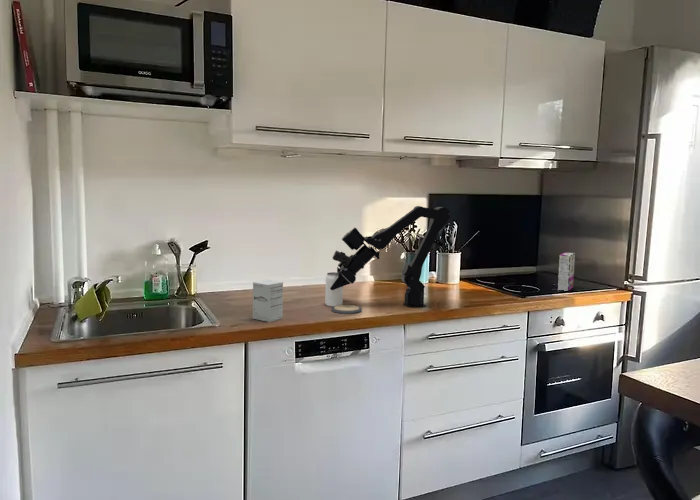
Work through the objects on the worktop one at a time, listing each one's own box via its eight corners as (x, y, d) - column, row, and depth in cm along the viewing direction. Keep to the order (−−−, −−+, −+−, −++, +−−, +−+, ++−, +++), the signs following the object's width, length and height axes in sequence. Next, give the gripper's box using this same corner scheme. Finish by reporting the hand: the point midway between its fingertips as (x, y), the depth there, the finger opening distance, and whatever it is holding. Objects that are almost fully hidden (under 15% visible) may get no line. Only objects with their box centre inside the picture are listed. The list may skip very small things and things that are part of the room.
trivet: (354, 306, 213) (354, 303, 213) (366, 312, 203) (366, 309, 203) (327, 308, 209) (327, 305, 209) (338, 315, 199) (338, 311, 198)
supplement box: (251, 319, 190) (251, 281, 189) (266, 315, 196) (267, 279, 195) (268, 322, 186) (268, 284, 185) (283, 318, 192) (283, 281, 191)
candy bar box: (561, 287, 261) (564, 252, 259) (573, 288, 258) (575, 253, 256) (556, 291, 252) (558, 254, 250) (568, 292, 249) (570, 255, 247)
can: (333, 302, 219) (333, 271, 218) (346, 305, 215) (346, 273, 214) (321, 305, 214) (322, 273, 213) (334, 307, 210) (335, 275, 209)
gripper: (344, 240, 221) (315, 268, 222) (347, 246, 203) (315, 276, 203) (363, 261, 223) (335, 288, 223) (368, 268, 204) (337, 298, 205)
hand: (330, 287), depth 214 cm, fingers closed on can, 6 cm apart
